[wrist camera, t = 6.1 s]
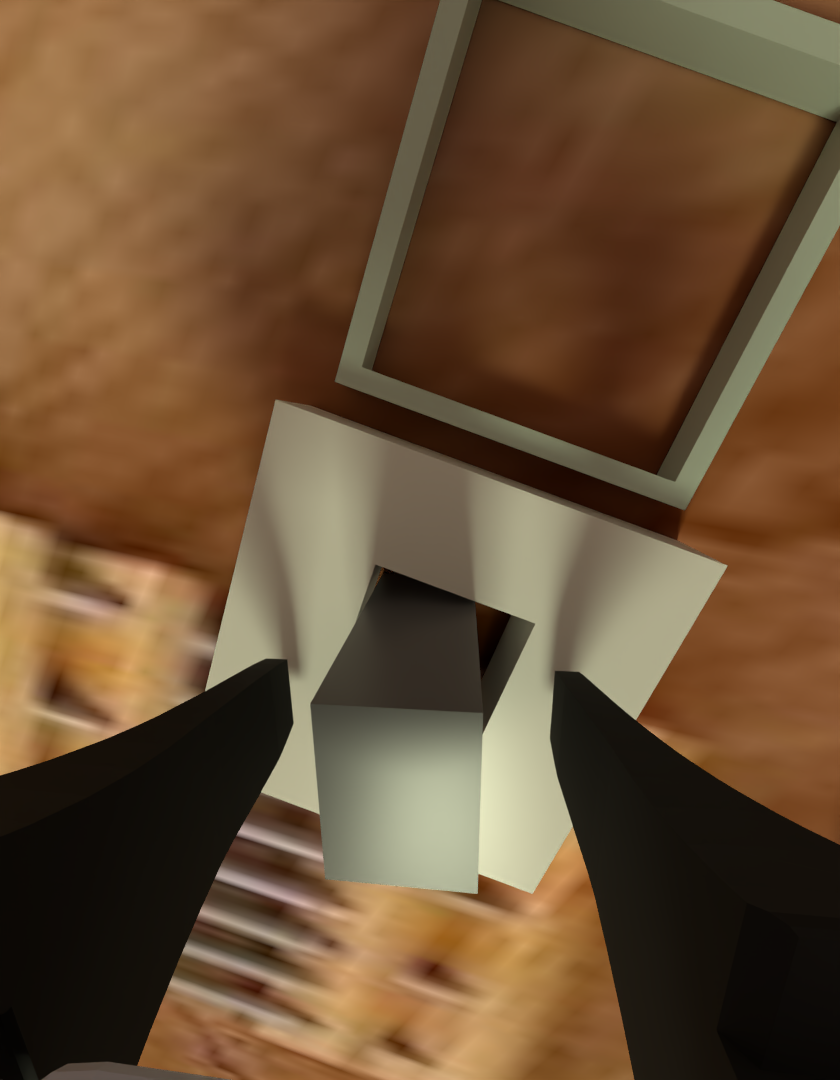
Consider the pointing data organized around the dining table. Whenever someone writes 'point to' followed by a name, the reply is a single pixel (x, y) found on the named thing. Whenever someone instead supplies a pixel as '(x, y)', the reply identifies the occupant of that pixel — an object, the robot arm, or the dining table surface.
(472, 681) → the plug
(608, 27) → the pale green square frame
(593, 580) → the socket
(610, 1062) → the dining table surface
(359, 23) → the dining table surface
